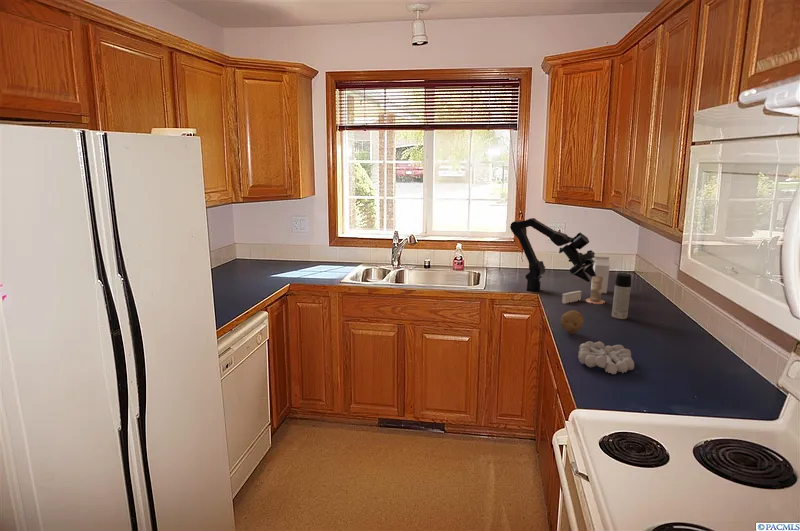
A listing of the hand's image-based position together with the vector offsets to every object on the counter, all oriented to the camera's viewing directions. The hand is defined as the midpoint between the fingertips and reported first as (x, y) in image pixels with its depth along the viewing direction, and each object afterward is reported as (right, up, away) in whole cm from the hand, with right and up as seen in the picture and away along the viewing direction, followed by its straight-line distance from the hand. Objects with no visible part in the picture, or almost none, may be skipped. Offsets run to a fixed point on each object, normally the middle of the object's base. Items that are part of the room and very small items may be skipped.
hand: (592, 279), depth 266 cm
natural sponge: (-26, -21, -46) cm, 57 cm away
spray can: (+4, -16, -23) cm, 29 cm away
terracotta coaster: (+2, -11, +1) cm, 11 cm away
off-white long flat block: (-10, -11, +1) cm, 15 cm away
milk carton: (+11, -7, +21) cm, 24 cm away
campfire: (-23, -28, -75) cm, 84 cm away
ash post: (+2, -10, +1) cm, 11 cm away
